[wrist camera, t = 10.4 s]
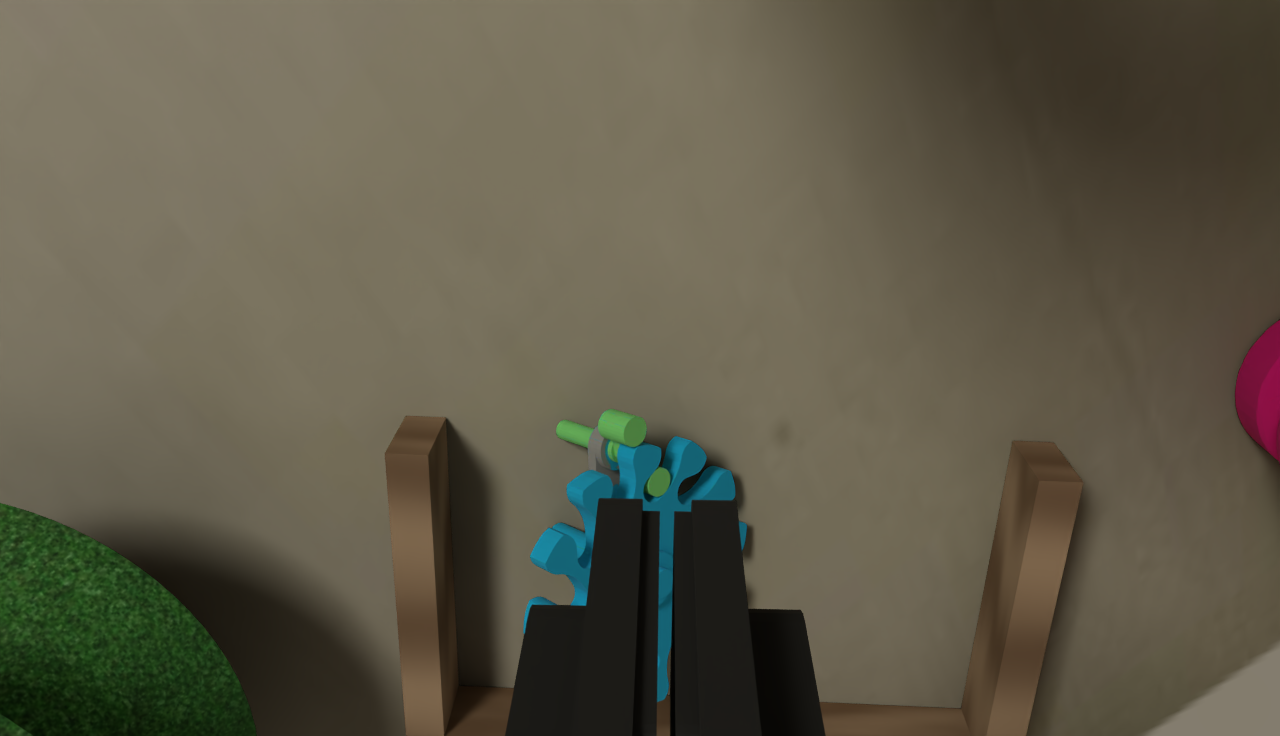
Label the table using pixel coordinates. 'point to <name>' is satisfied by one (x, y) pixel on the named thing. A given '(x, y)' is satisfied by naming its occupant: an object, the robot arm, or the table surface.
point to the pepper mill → (1261, 391)
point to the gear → (627, 474)
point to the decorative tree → (102, 644)
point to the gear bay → (477, 716)
